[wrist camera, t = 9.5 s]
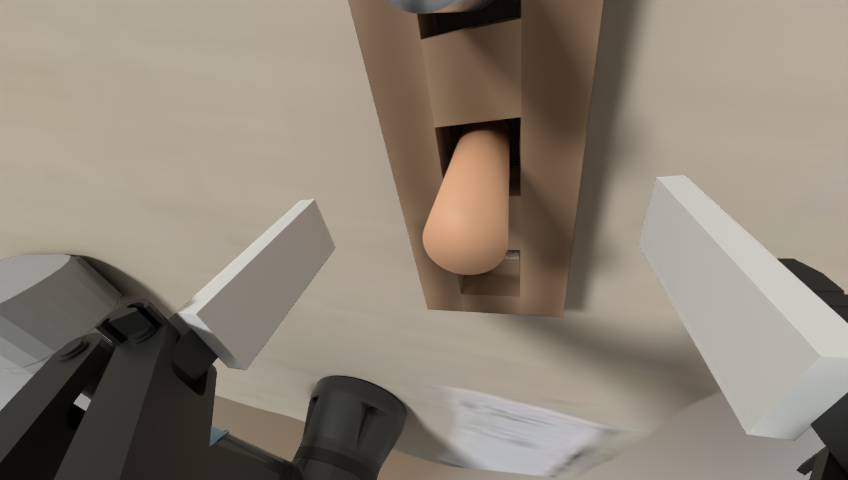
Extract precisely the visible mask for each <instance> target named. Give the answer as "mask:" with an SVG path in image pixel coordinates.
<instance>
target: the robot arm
mask: <svg viewBox="0 0 848 480" xmlns="http://www.w3.org/2000/svg"><path fill="white" fill-rule="evenodd" d="M638 245H639V247H640V249H641V250H642V252H643V254H644V256H645V257H646V259H647V261H648V263H649V264H650V266H651V268H652V270H653V271H654V273H655V275H656V277H657V278H658V280H659V282H660V284H661V285H662V287H663V289H664V291H665V292H666V294H667V296H668V298H669V299H670V301H671V303H672V305H673V306H674V308H675V310H676V312H677V313H678V315H679V317H680V319H681V320H682V322H683V324H684V326H685V327H686V329H687V331H688V333H689V334H690V336H691V338H692V340H693V341H694V343H695V345H696V347H697V348H698V350H699V352H700V354H701V355H702V357H703V359H704V361H705V362H706V364H707V366H708V368H709V369H710V371H711V373H712V375H713V376H714V378H715V380H716V382H717V383H718V385H719V387H720V389H721V390H722V392H723V394H724V395H725V397H726V399H727V401H728V402H729V404H730V406H731V408H732V410H733V411H734V413H735V415H736V417H737V418H738V420H739V422H740V424H741V425H742V427H743V429H744V430H745V432H746V434H747V435H755V436H763V437H771V438H779V439H787V440H796V439H797V438H798V437H799V436H801V435H802V434H803V433H804V432H805V431H806V430H808V429H809V428H810V427H811V426H812V428H813V429H814V430H815V432H816V433H817V434H818V436H819V437H820V439H821V440H822V441H823V443H824V444H825V445H826V447H824V448H823V449H822V450H820V451H819V452H818V453H816V454H815V455H813V456H812V457H811V458H809V459H808V460H807V461H805V462H804V463H803V464H802V465H801V466H800V467H799V468H798V469H797V471H799V472H800V473H802V474H803V475H806V474H807V473H809V472H810V471H812V473H811V476H810V479H809V480H848V295H845V294H844V290H842V289H841V288H840V287H839V286H837V285H836V284H835V283H834V282H833V281H831V280H830V279H829V278H828V277H826V276H825V275H824V274H823V273H821V272H819V271H817V270H815V269H813V268H811V267H809V266H807V265H805V264H803V263H801V262H799V261H797V260H795V259H776V258H775V257H774V256H773V255H772V254H771V253H770V252H769V251H767V250H766V249H765V248H764V247H763V246H762V245H761V244H760V243H759V242H757V241H756V240H755V239H754V238H753V237H752V236H751V235H750V234H749V233H748V232H746V231H745V230H744V229H743V228H742V227H741V226H740V225H739V224H738V223H737V222H735V221H734V220H733V219H732V218H731V217H730V216H729V215H728V214H727V213H725V212H724V211H723V210H722V209H721V208H720V207H719V206H718V205H717V204H716V203H714V202H713V201H712V200H711V199H710V198H709V197H708V196H707V195H706V194H705V193H703V192H702V191H701V190H700V189H699V188H698V187H697V186H696V185H695V184H693V183H692V182H691V181H690V180H689V179H688V178H687V177H686V176H685V175H682V176H666V177H656V181H655V185H654V188H653V192H652V195H651V199H650V203H649V206H648V210H647V213H646V217H645V221H644V224H643V228H642V232H641V235H640V239H639V242H638ZM334 249H335V245H334V243H333V241H332V238H331V236H330V234H329V231H328V229H327V227H326V224H325V222H324V220H323V218H322V215H321V213H320V211H319V208H318V206H317V204H316V201H315V199H312V200H300V201H299V202H298V203H297V204H296V205H295V206H293V207H292V208H291V209H290V210H289V211H288V212H287V213H286V214H285V215H283V216H282V217H281V218H280V219H279V220H278V221H277V222H276V223H275V224H273V225H272V226H271V227H270V228H269V229H268V230H267V231H266V232H265V233H263V234H262V235H261V236H260V237H259V238H258V239H257V240H256V241H255V242H254V243H252V244H251V245H250V246H249V247H248V248H247V249H246V250H245V251H244V252H242V253H241V254H240V255H239V256H238V257H237V258H236V259H235V260H234V261H232V262H231V263H230V264H229V265H228V266H227V267H226V268H225V269H224V270H222V271H221V272H220V273H219V274H218V275H217V276H216V277H215V278H214V279H213V280H211V281H210V282H209V283H208V284H207V285H206V286H205V287H204V288H203V289H201V290H200V291H199V292H198V293H197V294H196V295H195V296H194V297H193V298H191V299H190V300H189V301H188V302H187V303H186V304H185V305H184V306H183V307H182V308H180V309H179V310H178V311H177V312H176V314H174V315H173V316H172V317H171V318H170V319H169V320H167V319H166V318H165V317H164V316H163V315H162V314H161V313H160V312H159V311H158V310H157V309H156V308H155V307H154V306H153V305H152V304H151V302H150V301H148V300H146V299H140V300H136V301H133V302H129V303H127V304H125V305H123V306H121V307H119V308H117V309H116V310H114V311H112V312H111V313H109V314H108V315H107V316H105V317H104V318H103V319H102V320H101V321H100V322H99V323H98V324H97V325H96V326H95V328H96V329H97V330H98V331H99V332H101V333H102V334H103V335H104V336H105V337H104V336H103V335H102V334H100V333H97V332H96V333H90V334H87V335H84V336H82V337H78V338H76V339H74V340H72V341H70V342H68V343H67V344H66V345H65V346H64V347H63V348H61V349H60V350H58V351H57V352H56V353H55V354H54V355H53V356H52V357H51V358H50V359H49V360H48V361H47V362H46V363H45V364H44V365H43V366H42V367H41V368H40V369H39V370H38V371H37V372H36V374H35V375H34V376H33V377H32V378H31V379H30V380H29V381H28V382H27V383H26V384H25V385H24V386H23V387H22V389H21V390H20V391H19V392H18V393H17V394H16V395H15V396H14V397H13V398H12V399H11V400H10V402H8V403H7V404H6V406H5V407H4V408H3V409H2V410H1V411H0V480H377V477H378V473H379V471H380V469H381V467H382V465H383V463H384V462H385V460H386V458H387V457H388V455H389V453H390V451H391V450H392V448H393V446H394V445H395V443H396V441H397V440H398V438H399V436H400V435H401V433H402V431H403V427H404V423H405V419H406V415H407V414H406V410H405V408H404V406H403V405H402V404H401V403H400V402H399V401H398V400H397V399H396V398H395V397H394V396H392V395H391V394H389V393H388V392H386V391H385V390H383V389H381V388H379V387H377V386H375V385H373V384H370V383H367V382H365V381H362V380H358V379H354V378H349V377H342V376H330V377H325V378H323V379H321V380H320V381H319V382H318V383H317V385H316V387H315V389H314V391H313V393H312V395H311V398H310V403H309V407H308V412H307V418H306V423H305V428H304V433H303V438H302V441H301V444H300V447H299V449H298V451H297V452H296V455H295V457H294V459H293V461H292V462H289V461H287V460H285V459H283V458H281V457H279V456H276V455H274V454H272V453H270V452H268V451H265V450H263V449H261V448H259V447H257V446H254V445H252V444H250V443H248V442H246V441H243V440H241V439H239V438H237V437H235V436H233V435H231V434H229V431H228V430H224V431H223V430H220V429H218V428H215V427H213V426H212V416H213V406H214V396H215V386H216V376H217V371H216V368H215V367H214V366H213V365H212V364H213V362H214V361H215V360H216V359H217V358H219V359H220V360H221V361H222V362H223V363H224V364H225V365H226V366H227V367H228V368H234V369H242V370H247V368H248V367H249V366H250V364H251V363H252V361H253V360H254V359H255V357H256V356H257V355H258V353H259V352H260V351H261V349H262V348H263V346H264V345H265V344H266V342H267V341H268V340H269V338H270V337H271V335H272V334H273V333H274V331H275V330H276V329H277V327H278V326H279V325H280V323H281V322H282V320H283V319H284V318H285V316H286V315H287V314H288V312H289V311H290V309H291V308H292V307H293V305H294V304H295V303H296V301H297V300H298V299H299V297H300V296H301V294H302V293H303V292H304V290H305V289H306V288H307V286H308V285H309V284H310V282H311V281H312V279H313V278H314V277H315V275H316V274H317V273H318V271H319V270H320V268H321V267H322V266H323V264H324V263H325V262H326V260H327V259H328V258H329V256H330V255H331V253H332V252H333V251H334ZM106 337H107V338H108V339H109V340H110V341H109V340H108V339H107V338H106ZM111 341H112V342H111ZM80 393H82V394H83V395H85V396H87V397H88V398H89V399H91V402H90V404H89V406H88V408H87V410H86V411H85V410H83V409H81V408H80V407H78V406H76V405H75V404H73V403H74V401H75V400H76V398H77V397H78V396H79V395H80Z"/></svg>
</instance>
